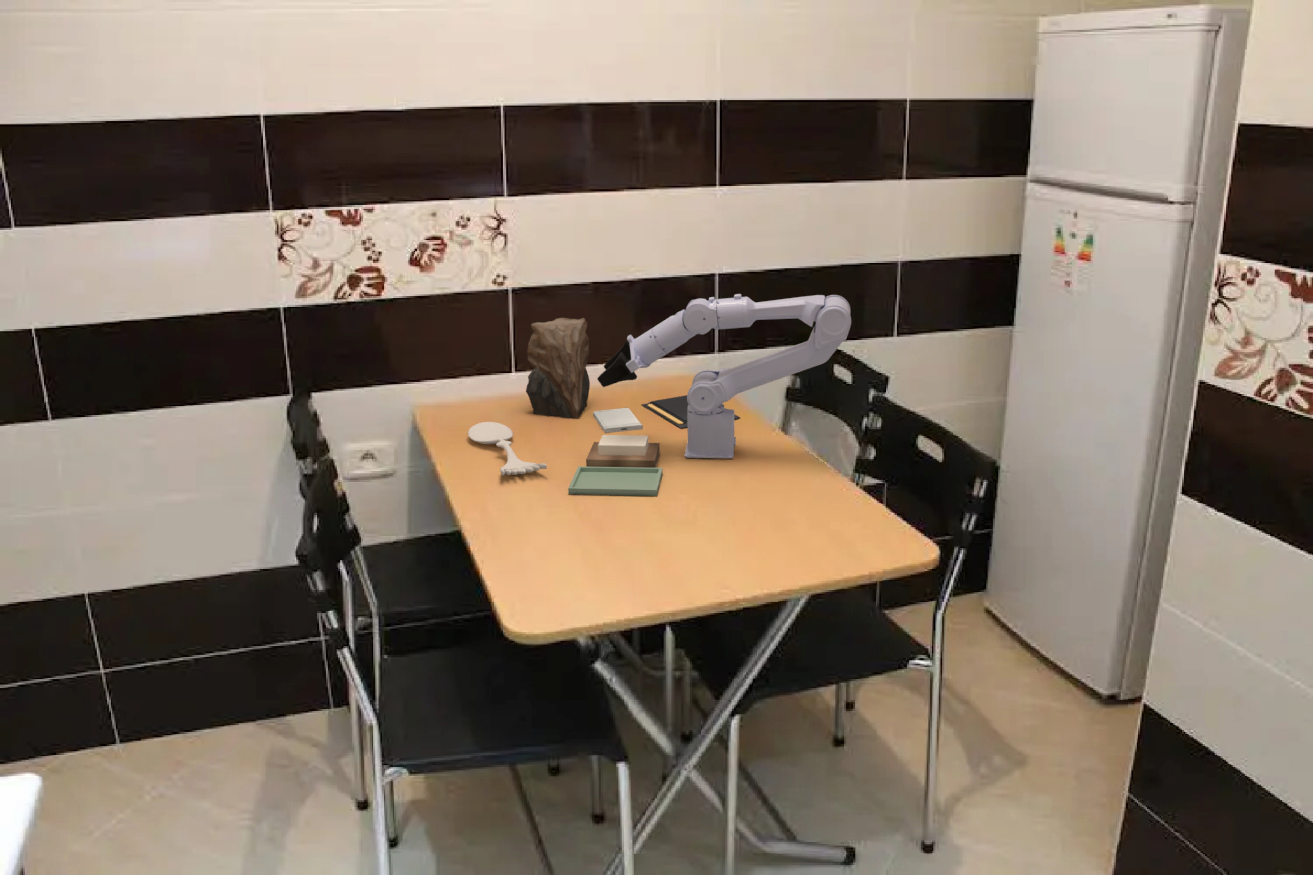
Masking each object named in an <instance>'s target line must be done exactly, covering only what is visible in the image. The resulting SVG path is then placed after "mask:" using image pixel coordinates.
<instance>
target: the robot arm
mask: <svg viewBox="0 0 1313 875" xmlns="http://www.w3.org/2000/svg"><path fill="white" fill-rule="evenodd" d="M785 319H786V320H787V319H791V320H792V319H798V320H800V321H802V322H803V323H804V324H806V325H807V326H809V327H810V328H812V331H811V332H810V335H809V338H808V340H807V341H804V342H802V343H798V344H795V345H793V346H790V347H787V348H784V349H781V350H778V351H776V352H772V353H770V354H768V355H765V356H762V357H758V358H756V359H753V360H752V361H751V360H750V361H748V362H745V363H743V364H740V365H737V366H734V367H730V368H729V367H728V368H727V367H725V368H720V369H717V370H712V369H711V370H710V369H705V370H701V371H699V372H698V373H696V374H695V375H694V377H693V379H692V383H691V386H690V388H689V389H688V391H687V393H686V395H687V401H688V404H689V405H688V406H687V418H688V428H687V443H686V446H685V451H684V458H689V459H733V458H734V455H735V454H734V452H735V447H736V446H737V437H736V436H735V420H734V414H735V409H732V408H731V409H730V408H725V405H724V403H726V402H728V401H730V400H732V399H733V398H734V397H736V396H737V395H738V394H741V393H743V392H746V391H749V390H752V389H754V388H758V387H760V386H764V385H766V384H769V383H772V382H774V381H778V380H780V379H783V378H785V377H788V376H791V375H794V374H797V373H800V372H803V371H805V370H809V369H811V368H814V367H816V366H819V365H822V364H824V363H826V362H828V361H829V359H830V358H831V357H832V356H833V354H834V353H835V352H836V351H837V349H838V348H839V347H840V345H841V344H842V343H843V342H844V341H846V340H847V337H848V336H849V333H850V329H851V325H852V317H851V305H850V303H849V302H848V300H847V299H846V298H845V297H843V296H842V295H838V294H830V295H827V296H825V295H823V294H816V295H806V296H798V297H791V298H782V299H775V300H774V299H773V300H767V301H759V302H755V301H754V300H752V299H751V298H750V297H748V296H742V294H741V293H736V294H734V295H733V297H728V298H727V297H726V298H718V299H716V298H715V296H711V297H708V300H707V299H706V298H696V299H691V300H690V301H689V302H688V304H687V305H686V308H685V309H682V310H680V311H678V312H676V313H675V314H674V315H673V314H672V315H670V316H669V317H668V318H666V319H665V320H663V321H661V322H660V323H658V324H657V325H655V326H654V327H652V328H650V329H649V330H647V331H645V332H643V333H642V334H641V335H639V336H638V337H635V338H634V337H633V335H632V334H629V335H627V338H626V340H625V342H624V344H623V345H622V346H621V347H620V349H619V350H618V351H617V352H616V353H615V354H613V356H612V357H610V358H609V359H608V361H606V363H604V365H603V368H604V371H603V372H601V373H600V375H599V376H598V377H597V378H596V379H597V381H598V382H599V384H600V385H601V387H602V388H605V387H609V386H611V385H614V384H617V383H620V382H624V381H625V382H626V381H634V380H637V378H638V375H637V374H636V373H635V372H636V371H637V370H639V369H645V368H649V367H651V365H652V364H653V363H655V362H656V361H658V360H660V359H661V358H663V357H664V356H666V355H668V354H670V353H671V352H673V351H674V350H676V349H677V348H679V347H680V346H682V345H684V344H685V343H687V342H688V341H689V340H690V339H691V338H693V337H695V336H696V335H705V334H707V333H709V332H710V331H711V329H715V330H717V331H718V330H728V329H740V328H741V329H743V328H750V327H751V326H752V325H753V323H754V322H756V321H759V320H785ZM814 322H815V325H814ZM813 325H814V326H813Z"/></svg>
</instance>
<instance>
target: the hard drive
mask: <svg viewBox="0 0 1313 875" xmlns="http://www.w3.org/2000/svg"><path fill="white" fill-rule="evenodd" d="M592 416H593V418H594V419H595V421H596V422H597V424H598V425H599V427H600V428H601V429H602V431H603V432H604V433H605V434H609V433H620V432H628V431H641V430H644V427H643V424H642V423H641V422H640V420H639V419H638V417H636V415H635V414H634V413H633V412H632V410H631V408H629V407H623V408H613V409H611V408H610V409H604V410H601V409H600V410H595V411H593V412H592Z"/></svg>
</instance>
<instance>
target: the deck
mask: <svg viewBox="0 0 1313 875" xmlns="http://www.w3.org/2000/svg"><path fill="white" fill-rule="evenodd" d="M599 442H600V441H594V442H593V444H592V446H591V448H590V450H589V452H588V453H587V457H586V459H585V467H646V468H658V467H657V466H658V462H659V458H660V454H661V448H660V442H649V446H648V449H647V452H646V455H645V456H622V455H598V444H599Z"/></svg>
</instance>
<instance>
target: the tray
mask: <svg viewBox="0 0 1313 875" xmlns="http://www.w3.org/2000/svg"><path fill="white" fill-rule="evenodd" d="M663 470H664V469H663V467H656V468H646V467H586V465H585V466H582V465H581V466H577V468H576V470H575V472H574V475H573V477H572V479H571V480H570V483H569V485H568V488H567V490H568V495H571V496H573V495H574V496H577V495H578V496H579V495H580V496H581V495H582V496H586V495H587V496H627V497H628V496H629V497H631V496H632V497H658V494H659V490H660V486H661V481H662V478H663V474H664V473H663Z"/></svg>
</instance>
